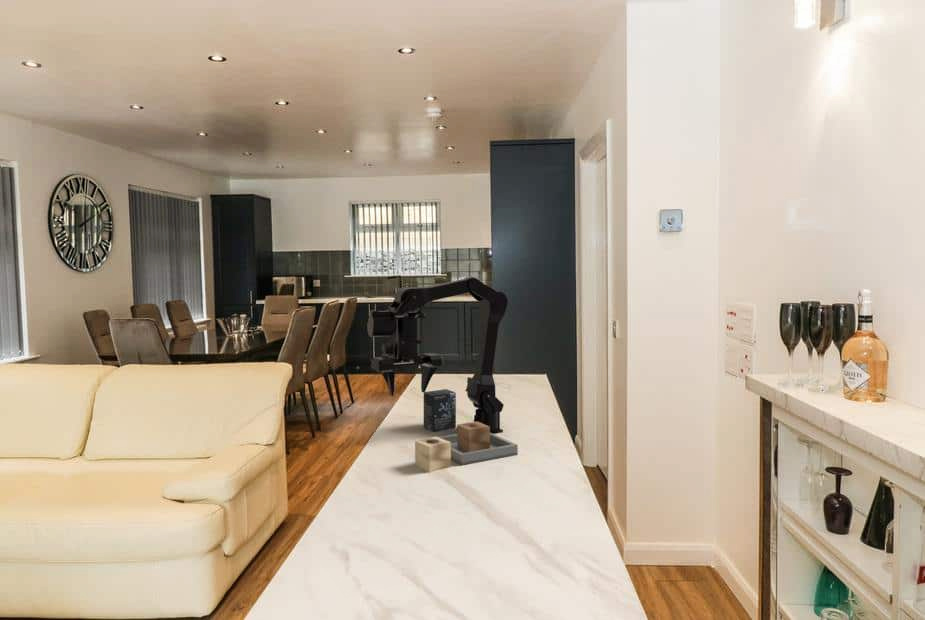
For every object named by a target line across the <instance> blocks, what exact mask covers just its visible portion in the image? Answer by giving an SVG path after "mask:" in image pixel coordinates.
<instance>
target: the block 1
mask: <svg viewBox="0 0 925 620" xmlns="http://www.w3.org/2000/svg"><path fill="white" fill-rule="evenodd" d="M438 437H439V436H433V437H432V436H431V437H427V438H423V439H418V440H415V441H414V463H415V466H416V467H417V468H419V469H422V470H424V471H426V472H428V473H432V472H437V471H441V470H444V469H447V468H448V469H449V468H451V467H452V460H451V442H449V441H446V440H444V439H441V438H438Z"/></svg>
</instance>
